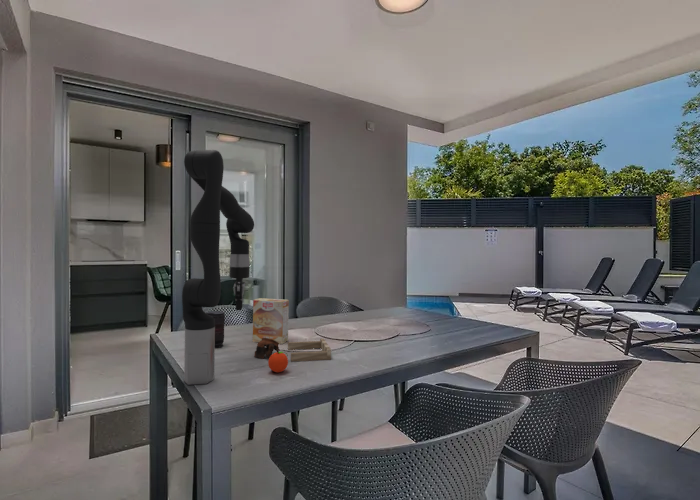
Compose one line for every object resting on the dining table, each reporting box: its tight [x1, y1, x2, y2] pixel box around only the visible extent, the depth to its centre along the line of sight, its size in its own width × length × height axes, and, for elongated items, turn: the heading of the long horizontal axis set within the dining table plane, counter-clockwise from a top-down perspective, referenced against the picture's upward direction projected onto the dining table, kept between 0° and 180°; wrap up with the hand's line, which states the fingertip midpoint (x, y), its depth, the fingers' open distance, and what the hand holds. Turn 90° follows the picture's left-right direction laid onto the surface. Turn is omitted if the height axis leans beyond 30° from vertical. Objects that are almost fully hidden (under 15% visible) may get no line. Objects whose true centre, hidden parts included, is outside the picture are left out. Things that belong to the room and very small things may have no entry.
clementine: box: [267, 351, 289, 373], centre depth 137 cm, size 8×7×7 cm
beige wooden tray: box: [287, 338, 332, 362], centre depth 159 cm, size 18×16×4 cm
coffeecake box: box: [252, 297, 290, 345], centre depth 179 cm, size 15×7×20 cm, turn 76°
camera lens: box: [205, 310, 226, 349], centre depth 169 cm, size 8×8×15 cm
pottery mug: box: [253, 338, 280, 360], centre depth 155 cm, size 12×10×8 cm
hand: (239, 309), depth 153 cm, fingers open, 3 cm apart
